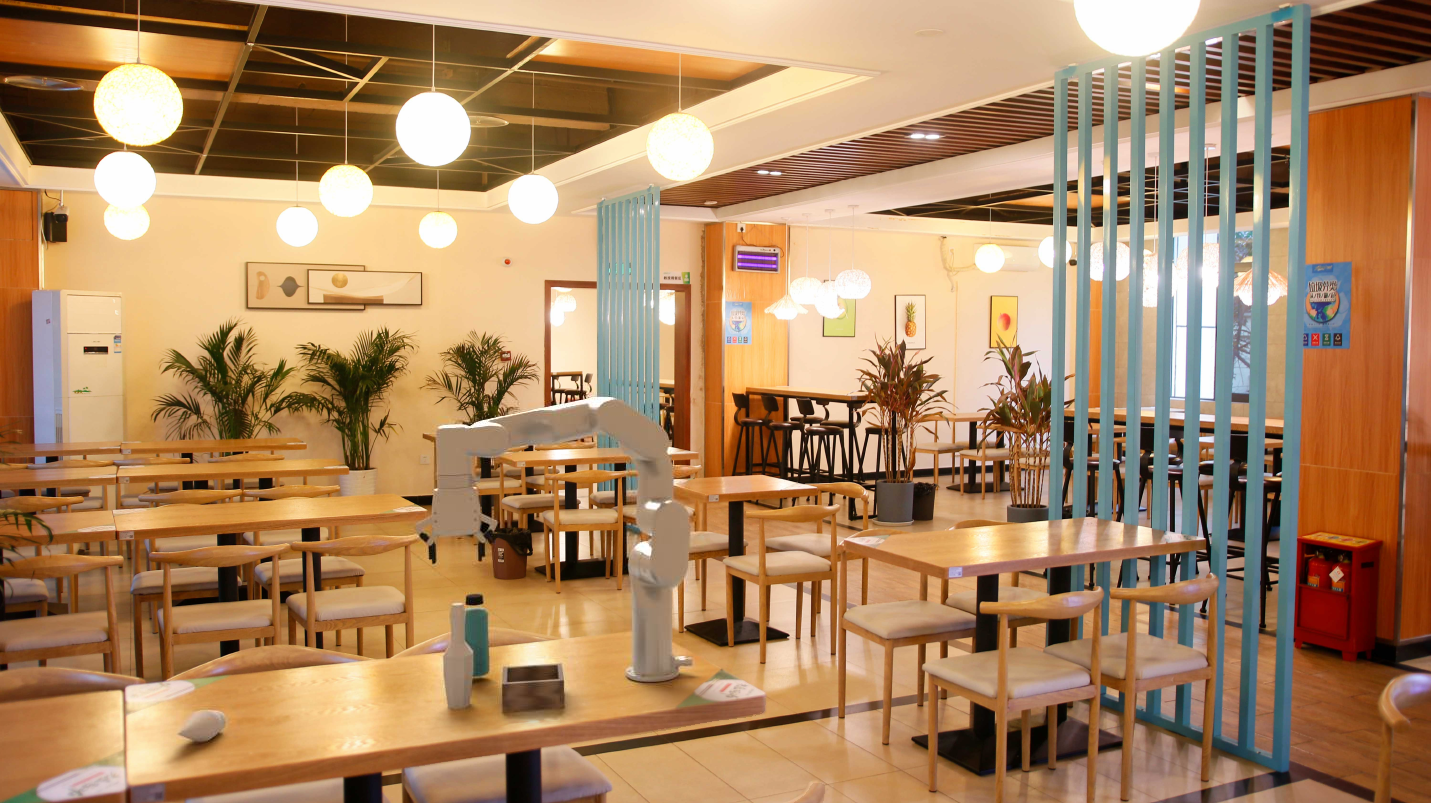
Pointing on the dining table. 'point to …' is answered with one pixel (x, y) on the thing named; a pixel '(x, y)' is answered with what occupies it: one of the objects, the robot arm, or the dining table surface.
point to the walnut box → (532, 687)
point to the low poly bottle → (458, 662)
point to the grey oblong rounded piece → (203, 725)
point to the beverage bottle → (477, 634)
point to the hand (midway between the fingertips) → (457, 561)
